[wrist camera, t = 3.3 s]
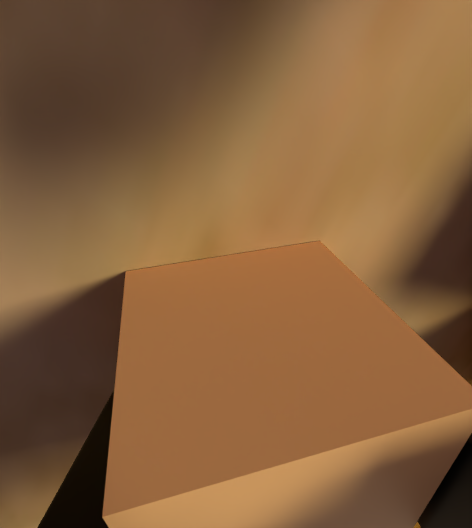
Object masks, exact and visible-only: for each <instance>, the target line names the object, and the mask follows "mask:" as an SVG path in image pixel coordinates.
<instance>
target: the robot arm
mask: <svg viewBox="0 0 472 528" xmlns="http://www.w3.org/2000/svg"><path fill="white" fill-rule="evenodd" d="M113 399H114V391H113V393H112V394H111V396H110V398H109V400H108V402H107V403H106V405H105V407H104V409H103V411H102V412H101V414H100V416H99V418H98V420H97V421H96V423H95V425H94V427H93V429H92V430H91V432H90V434H89V436H88V438H87V439H86V441H85V443H84V445H83V447H82V448H81V450H80V452H79V454H78V456H77V457H76V459H75V461H74V463H73V465H72V466H71V468H70V470H69V472H68V474H67V475H66V477H65V479H64V481H63V483H62V484H61V486H60V488H59V490H58V492H57V493H56V495H55V497H54V499H53V501H52V502H51V504H50V506H49V508H48V510H47V511H46V513H45V515H44V517H43V519H42V520H41V522H40V524H39V526H38V528H109V527H108V526H107V524H106V522H105V521H104V519H103V518H102V514H103V504H104V494H105V483H106V473H107V462H108V452H109V441H110V431H111V420H112V410H113ZM418 523H419V525H420V527H421V528H472V433H471V435H470V436H469V438H468V440H467V441H466V443H465V445H464V446H463V448H462V449H461V451H460V453H459V454H458V456H457V458H456V459H455V461H454V462H453V464H452V466H451V467H450V469H449V470H448V472H447V474H446V475H445V477H444V479H443V480H442V482H441V483H440V485H439V487H438V488H437V490H436V492H435V493H434V495H433V496H432V498H431V500H430V501H429V503H428V504H427V506H426V508H425V509H424V511H423V513H422V514H421V516H420V517H419V519H418Z"/></svg>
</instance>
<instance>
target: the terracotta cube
mask: <svg viewBox="0 0 472 528" xmlns="http://www.w3.org/2000/svg"><path fill="white" fill-rule="evenodd" d="M471 433H472V386H471V385H470V384H469V383H468V382H467V381H466V380H465V379H464V378H463V377H462V376H461V375H459V374H458V373H457V372H456V371H455V370H454V369H453V368H452V367H451V366H450V365H449V364H448V363H447V362H446V361H445V360H444V359H443V358H442V357H441V356H440V355H439V354H438V353H436V352H435V351H434V350H433V349H432V348H431V347H430V346H429V345H428V344H427V343H426V342H425V341H424V340H423V339H422V338H421V337H420V336H419V335H418V334H417V333H416V332H414V331H413V330H412V329H411V328H410V327H409V326H408V325H407V324H406V323H405V322H404V321H403V320H402V319H401V318H400V317H399V316H398V315H397V314H396V313H395V312H394V311H393V310H391V309H390V308H389V307H388V306H387V305H386V304H385V303H384V302H383V301H382V300H381V299H380V298H379V297H378V296H377V295H376V294H375V293H374V292H373V291H372V290H371V289H370V288H368V287H367V286H366V285H365V284H364V283H363V282H362V281H361V280H360V279H359V278H358V277H357V276H356V275H355V274H354V273H353V272H352V271H351V270H350V269H349V268H348V267H346V266H345V265H344V264H343V263H342V262H341V261H340V260H339V259H338V258H337V257H336V256H335V255H334V254H333V253H332V252H331V251H330V250H329V249H328V248H327V247H326V246H325V245H323V244H322V243H321V242H320V241H315V242H308V243H302V244H296V245H289V246H283V247H277V248H271V249H264V250H258V251H252V252H245V253H239V254H233V255H226V256H220V257H214V258H207V259H201V260H195V261H188V262H182V263H176V264H169V265H163V266H157V267H150V268H144V269H138V270H131V271H126V274H125V284H124V295H123V305H122V316H121V326H120V337H119V347H118V358H117V368H116V379H115V389H114V399H113V410H112V420H111V431H110V441H109V452H108V462H107V473H106V483H105V494H104V504H103V514H102V518H103V519H104V521H105V522H106V524H107V526H108V527H109V528H413V527H414V526H415V524H416V522H417V521H418V519H419V517H420V516H421V514H422V513H423V511H424V509H425V508H426V506H427V504H428V503H429V501H430V500H431V498H432V496H433V495H434V493H435V492H436V490H437V488H438V487H439V485H440V483H441V482H442V480H443V479H444V477H445V475H446V474H447V472H448V470H449V469H450V467H451V466H452V464H453V462H454V461H455V459H456V458H457V456H458V454H459V453H460V451H461V449H462V448H463V446H464V445H465V443H466V441H467V440H468V438H469V436H470V435H471Z"/></svg>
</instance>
